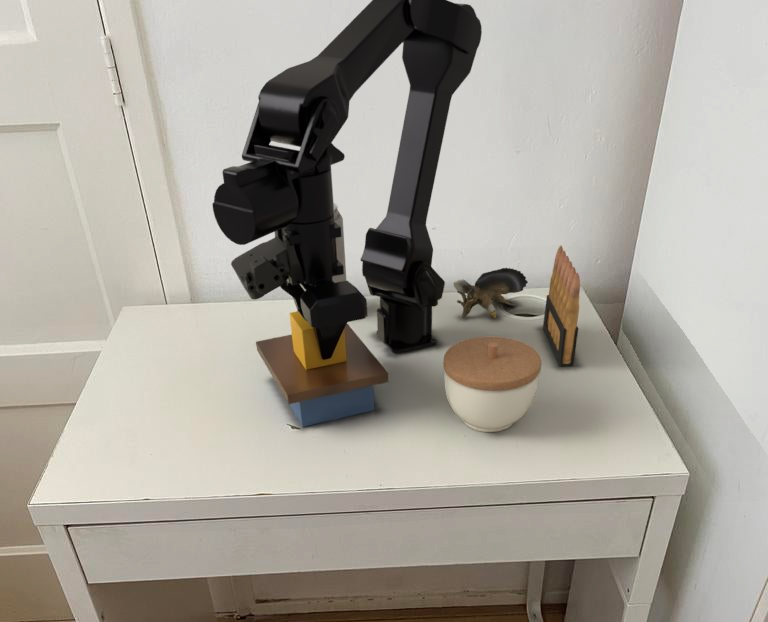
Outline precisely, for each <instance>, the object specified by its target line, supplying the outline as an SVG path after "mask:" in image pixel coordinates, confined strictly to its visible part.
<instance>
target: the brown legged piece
mask: <svg viewBox="0 0 768 622" xmlns="http://www.w3.org/2000/svg"><path fill="white" fill-rule="evenodd" d="M528 283H529V281H528V280H527V277H526V275H524V273H523V272H522V271H521V270H517V269H514V268H511V267H509V268H508V267H502V268H498V269H495V270H490V271H486V272H483V273H482V274H480V276H479V277H478V278H477V279H476V281H475V282H474V285H473V284H470V283H469V282H468V281H467V280H466V279H462V278H461V279H457V280H454V281H453V287H454V289H455V290H456V293H457V294H459V295H460V296H461V298H462V300H459V299H458V300H456V303H457V304H460V305H461V306H462V307H463V309H462V315H461V316H462V318H466V317H467V316H468V314H470V313H471V311H472V309H473V308H474V307H475V306H476V305H479V306H480V307H482V308H483V309H485V310H486V311H488V313H489V314H491V315H492V318H493V319H496V317H497V310H496V308H495V306H494V304H493V302H498V303H503V304H506V305H509V306H511V307H514V306H515V302H512V300H508V299H506V298H505V297H504V296H503V295H508V294H515V293H520V292H522V291H524V288H525V287H527V284H528ZM492 301H493V302H492Z"/></svg>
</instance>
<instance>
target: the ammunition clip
mask: <svg viewBox="0 0 768 622" xmlns="http://www.w3.org/2000/svg"><path fill="white" fill-rule="evenodd" d="M552 267H553V268H552V273H551V275H550V282H549V289H548V294H547V295H546V300H545V307H544V308H545V309H544V316H543V324H542V332H543V333H544V336H545V338H546V341H547V342H548V345H549V347H550V349H551V352H552V354H553V356H554V358H555V360H556V362H557V365H558V367H567V366H569V367H570V366H574V364H575V359H576V358H575V357H576V352H577V351H576V349H577V343H578V342H577V341H578V334H579V327H578V320H579V312H580V292H581V279H580V274H579V272H577V271H576V267H575V266H574V265H573V262H572V261H571V260H570V258H569V256H568V255H567V253H566V251H565V250H564V247H563V246H562V245H559V247H558V248H557V251H556V253H555V256H554V263H553V266H552Z"/></svg>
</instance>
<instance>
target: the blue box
mask: <svg viewBox="0 0 768 622" xmlns="http://www.w3.org/2000/svg"><path fill="white" fill-rule="evenodd" d="M374 387H375V386H374V385H372V386H368V387H363V388H359V389H354V390H350V391H345V392H341V393H337V394H332V395H328V396H323V397H319V398H315V399H310V400H306V401H301V402H297V403H293V404H288V405H289V407H290V409H291V410H292V412H293V414H294V415H295V417H296V419H297V420H298V422H299V423H300V426H301V427H302V428H304V427H305V428H306V427H308V426H313V425H317V424H321V423H325V422H330V421H334V420H338V419H339V420H340V419H342V418H343V419H344V418H347V417H351V416H355V415H359V414H363V413H368V412H373V411H375V390H374V389H375V388H374Z"/></svg>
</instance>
